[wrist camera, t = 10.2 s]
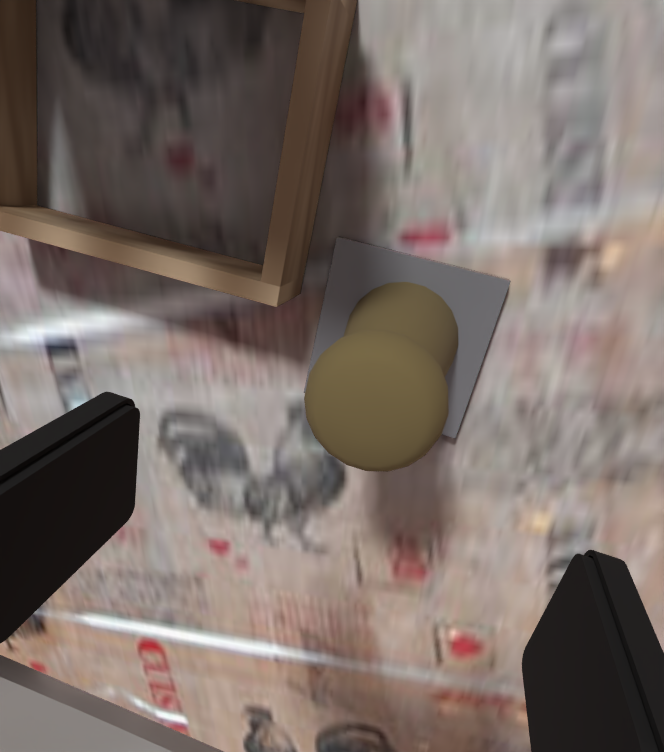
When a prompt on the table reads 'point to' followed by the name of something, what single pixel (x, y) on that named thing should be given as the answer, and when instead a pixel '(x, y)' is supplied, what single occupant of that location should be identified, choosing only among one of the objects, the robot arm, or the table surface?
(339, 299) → the coaster
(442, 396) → the yellow tapered piece
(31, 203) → the wooden box
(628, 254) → the table surface
